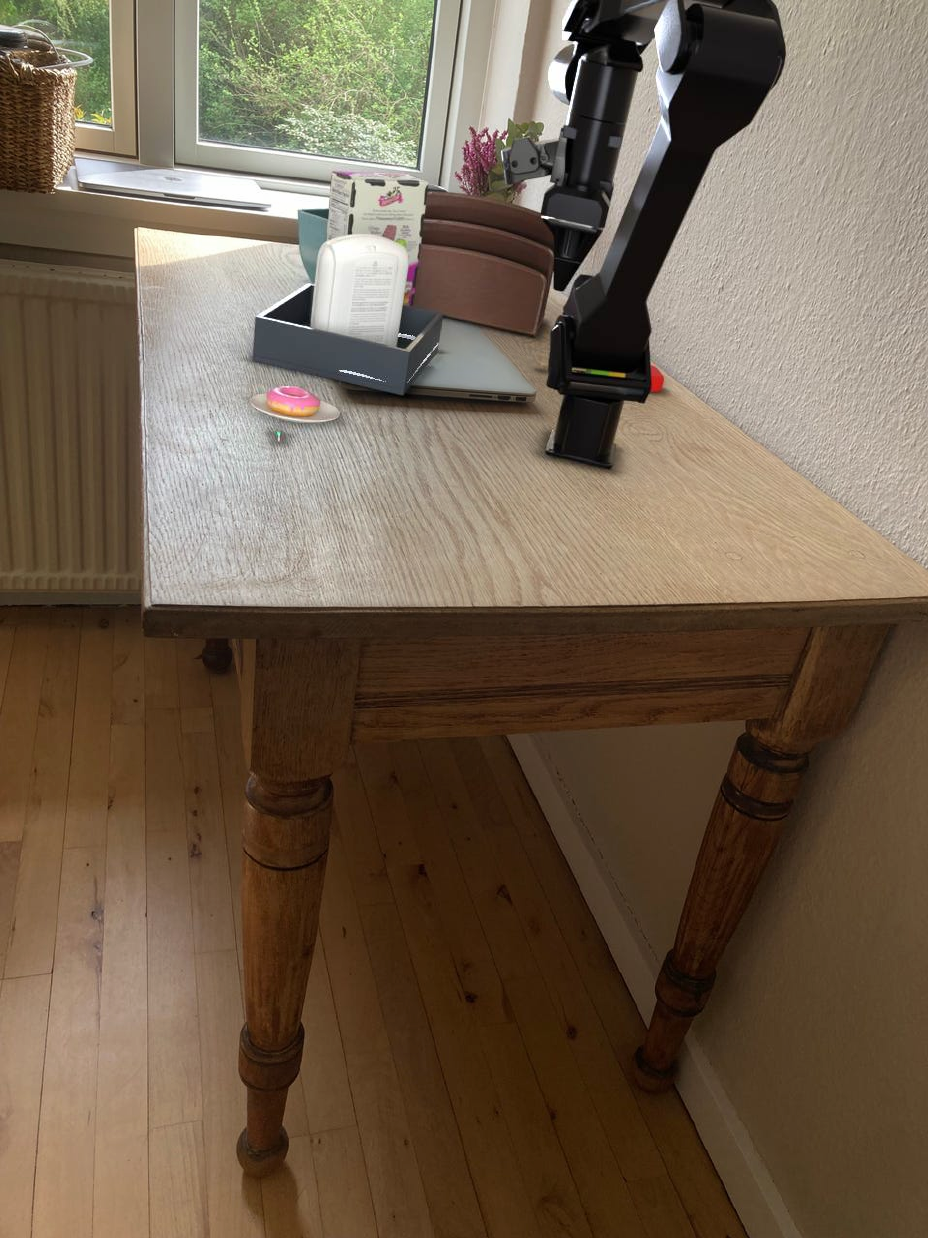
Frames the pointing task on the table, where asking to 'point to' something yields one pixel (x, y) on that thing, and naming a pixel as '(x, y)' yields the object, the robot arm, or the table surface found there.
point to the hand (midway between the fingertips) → (561, 281)
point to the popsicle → (655, 375)
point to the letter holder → (484, 262)
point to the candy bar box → (380, 212)
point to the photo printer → (360, 287)
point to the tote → (344, 345)
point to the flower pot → (311, 237)
